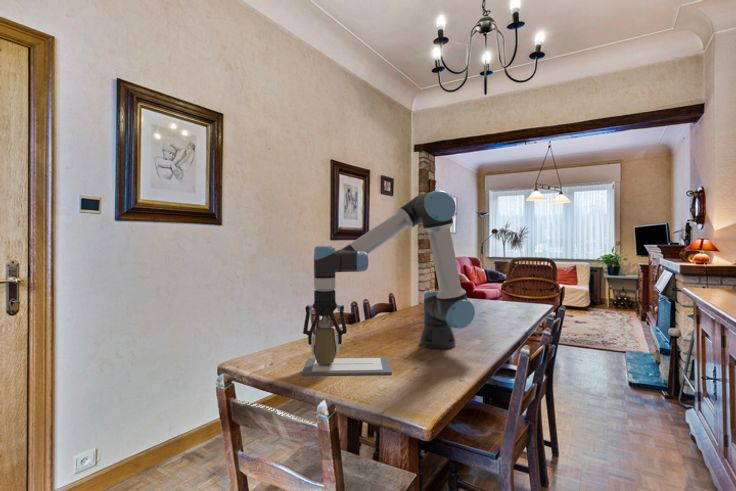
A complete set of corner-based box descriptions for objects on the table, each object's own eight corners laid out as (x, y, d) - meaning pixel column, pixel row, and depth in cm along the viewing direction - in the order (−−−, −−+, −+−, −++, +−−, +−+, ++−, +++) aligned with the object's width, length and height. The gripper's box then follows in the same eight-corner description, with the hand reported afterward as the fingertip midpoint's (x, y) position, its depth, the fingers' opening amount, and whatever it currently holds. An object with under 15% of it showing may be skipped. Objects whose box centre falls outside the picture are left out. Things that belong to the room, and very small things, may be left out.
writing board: (387, 359, 146) (387, 356, 146) (391, 374, 130) (391, 371, 130) (308, 360, 145) (308, 357, 145) (302, 375, 129) (302, 372, 129)
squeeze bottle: (332, 366, 132) (332, 314, 132) (310, 365, 134) (310, 313, 134) (339, 359, 140) (339, 310, 140) (318, 358, 142) (317, 309, 141)
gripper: (354, 287, 141) (354, 349, 141) (297, 288, 140) (297, 350, 140) (354, 290, 133) (354, 356, 134) (293, 291, 132) (294, 357, 133)
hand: (325, 353), depth 137 cm, fingers closed on squeeze bottle, 8 cm apart
